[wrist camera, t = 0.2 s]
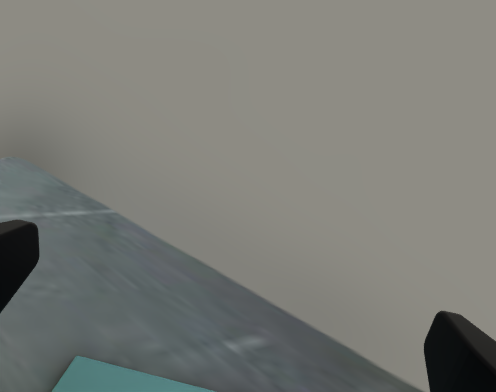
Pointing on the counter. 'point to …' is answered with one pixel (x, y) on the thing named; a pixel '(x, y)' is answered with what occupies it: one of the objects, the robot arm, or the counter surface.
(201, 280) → the counter surface
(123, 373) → the mat
